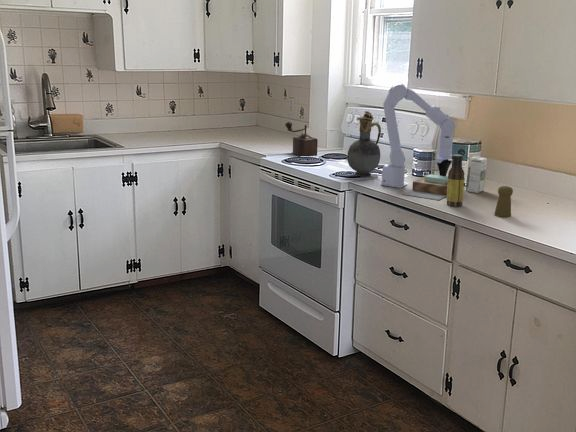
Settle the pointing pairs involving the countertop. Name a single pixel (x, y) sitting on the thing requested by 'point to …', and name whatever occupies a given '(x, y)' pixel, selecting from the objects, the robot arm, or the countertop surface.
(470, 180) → the syrup box
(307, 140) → the manual coffee grinder
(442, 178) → the pale teal block
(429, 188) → the deck
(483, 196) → the countertop surface
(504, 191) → the cork
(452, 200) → the sauce bottle
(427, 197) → the mat
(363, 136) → the pitcher
